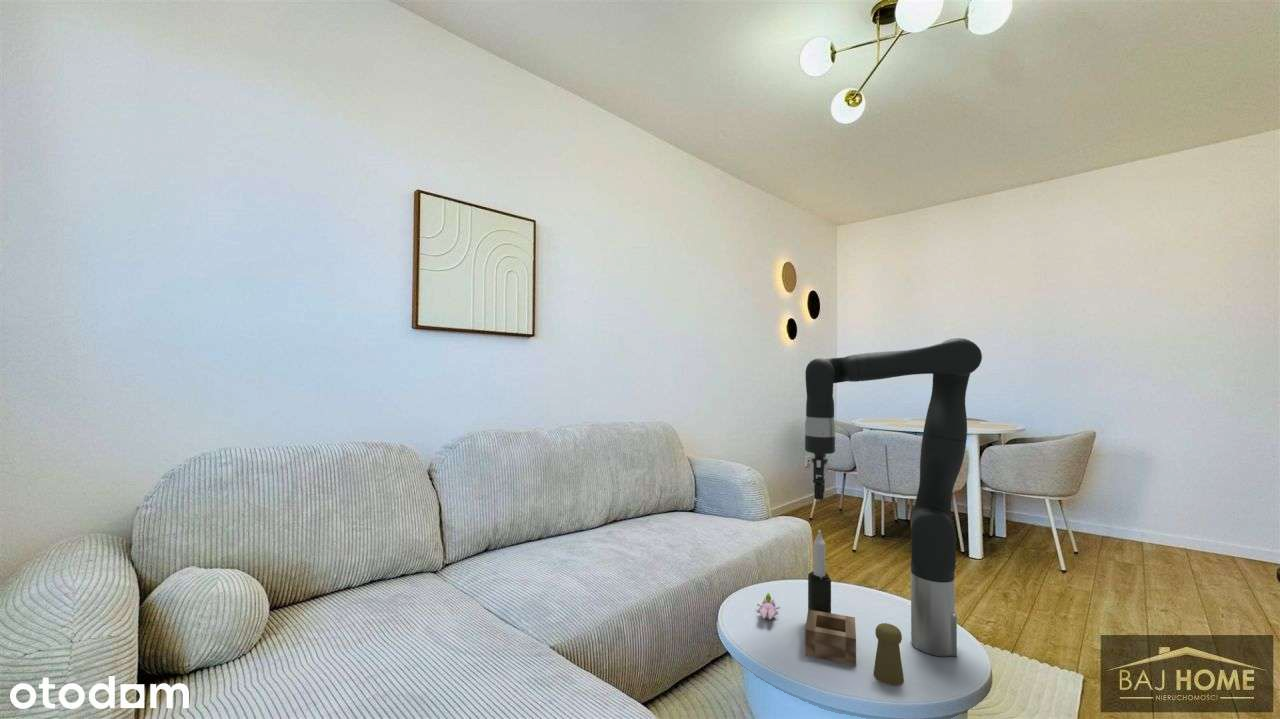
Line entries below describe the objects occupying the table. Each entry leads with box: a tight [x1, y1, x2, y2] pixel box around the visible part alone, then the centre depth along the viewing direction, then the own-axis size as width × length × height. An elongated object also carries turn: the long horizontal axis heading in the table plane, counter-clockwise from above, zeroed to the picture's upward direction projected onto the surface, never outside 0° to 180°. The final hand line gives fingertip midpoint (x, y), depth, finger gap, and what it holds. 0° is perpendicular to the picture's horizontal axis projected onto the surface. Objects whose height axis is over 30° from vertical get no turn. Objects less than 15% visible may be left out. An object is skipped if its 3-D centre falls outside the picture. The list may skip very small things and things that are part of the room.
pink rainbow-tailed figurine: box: [756, 592, 781, 620], centre depth 139 cm, size 6×6×15 cm
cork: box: [873, 622, 905, 687], centre depth 111 cm, size 6×6×11 cm
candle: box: [807, 529, 832, 613], centre depth 134 cm, size 5×5×25 cm
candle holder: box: [804, 608, 857, 667], centre depth 123 cm, size 11×11×6 cm
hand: (819, 495), depth 134 cm, fingers open, 8 cm apart
